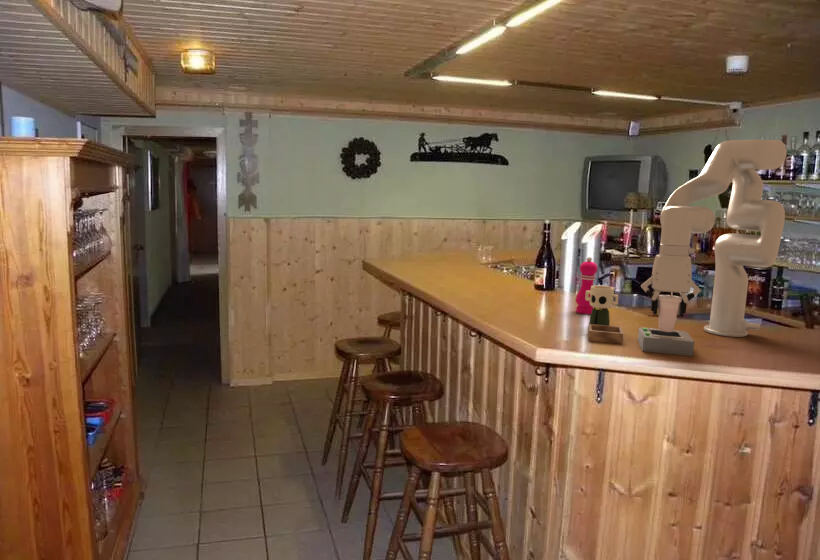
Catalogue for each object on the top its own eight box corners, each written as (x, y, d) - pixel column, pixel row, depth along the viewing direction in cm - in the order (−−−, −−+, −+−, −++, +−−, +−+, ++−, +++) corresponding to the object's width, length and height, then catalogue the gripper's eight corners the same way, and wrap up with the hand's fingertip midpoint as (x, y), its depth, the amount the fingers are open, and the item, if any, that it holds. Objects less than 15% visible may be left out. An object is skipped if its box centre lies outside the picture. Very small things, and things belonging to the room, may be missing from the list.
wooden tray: (620, 336, 191) (620, 326, 191) (622, 343, 182) (623, 333, 182) (587, 333, 193) (588, 323, 193) (588, 340, 184) (589, 330, 184)
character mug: (578, 325, 204) (581, 286, 202) (587, 322, 209) (591, 283, 207) (611, 331, 197) (614, 290, 195) (619, 328, 202) (623, 288, 200)
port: (684, 344, 184) (686, 329, 183) (692, 356, 171) (694, 339, 170) (637, 340, 187) (639, 325, 186) (642, 351, 174) (643, 335, 174)
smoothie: (667, 333, 174) (672, 283, 172) (648, 328, 179) (654, 280, 177) (683, 332, 177) (688, 282, 175) (664, 327, 182) (669, 279, 180)
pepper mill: (573, 313, 224) (577, 257, 221) (576, 309, 231) (580, 255, 228) (594, 315, 222) (599, 258, 218) (596, 311, 228) (601, 256, 225)
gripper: (705, 252, 176) (698, 315, 179) (639, 248, 180) (634, 309, 183) (710, 254, 169) (703, 320, 172) (642, 250, 173) (636, 314, 176)
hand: (667, 314), depth 177 cm, fingers closed on smoothie, 6 cm apart
